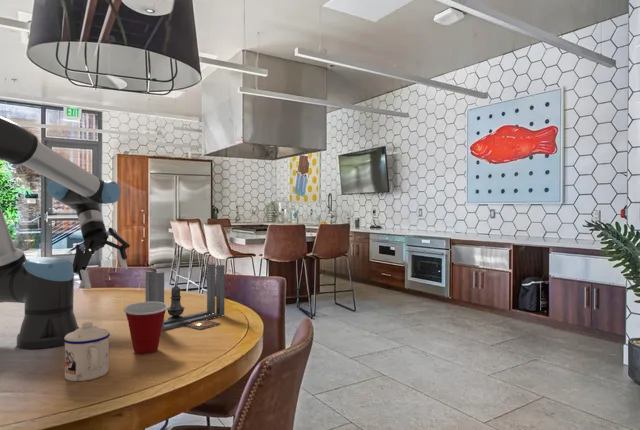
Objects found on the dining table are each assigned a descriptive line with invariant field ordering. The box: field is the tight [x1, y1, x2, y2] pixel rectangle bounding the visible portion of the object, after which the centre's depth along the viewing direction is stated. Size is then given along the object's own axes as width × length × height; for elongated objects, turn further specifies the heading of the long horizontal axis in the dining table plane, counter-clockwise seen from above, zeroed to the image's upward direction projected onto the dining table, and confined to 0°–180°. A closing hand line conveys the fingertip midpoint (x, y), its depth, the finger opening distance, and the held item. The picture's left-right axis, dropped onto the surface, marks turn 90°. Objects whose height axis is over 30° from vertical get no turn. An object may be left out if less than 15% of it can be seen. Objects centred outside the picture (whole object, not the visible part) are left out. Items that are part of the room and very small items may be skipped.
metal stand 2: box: [155, 264, 226, 332], centre depth 140 cm, size 2×26×18 cm, turn 143°
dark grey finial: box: [166, 283, 186, 320], centre depth 145 cm, size 6×6×12 cm
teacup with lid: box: [64, 321, 111, 382], centre depth 93 cm, size 12×9×12 cm
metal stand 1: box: [145, 263, 216, 325], centre depth 143 cm, size 2×26×18 cm, turn 143°
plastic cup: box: [123, 301, 169, 355], centre depth 110 cm, size 11×11×12 cm
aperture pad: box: [183, 319, 221, 330], centre depth 136 cm, size 8×8×1 cm
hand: (106, 278), depth 138 cm, fingers open, 13 cm apart
